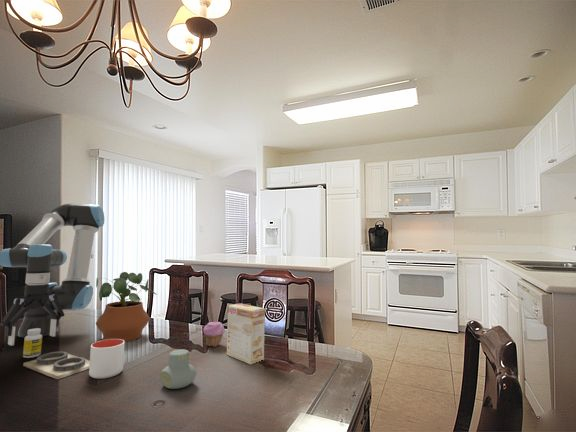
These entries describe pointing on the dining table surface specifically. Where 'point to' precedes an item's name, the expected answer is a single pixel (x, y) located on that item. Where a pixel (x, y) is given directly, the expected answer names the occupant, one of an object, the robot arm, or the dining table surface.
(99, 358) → the cup
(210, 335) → the cupcake
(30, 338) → the supplement bottle
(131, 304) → the potted plant
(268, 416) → the dining table surface
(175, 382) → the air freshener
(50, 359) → the caddy
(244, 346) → the coffeecake box
